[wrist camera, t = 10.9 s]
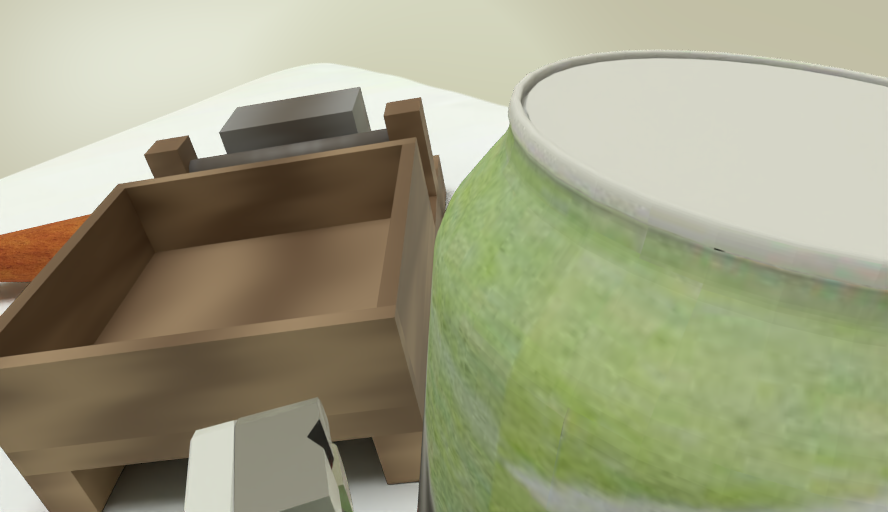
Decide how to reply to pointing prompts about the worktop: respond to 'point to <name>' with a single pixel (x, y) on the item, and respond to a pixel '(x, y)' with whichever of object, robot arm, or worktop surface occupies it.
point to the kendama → (33, 248)
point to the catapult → (233, 299)
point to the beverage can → (666, 294)
